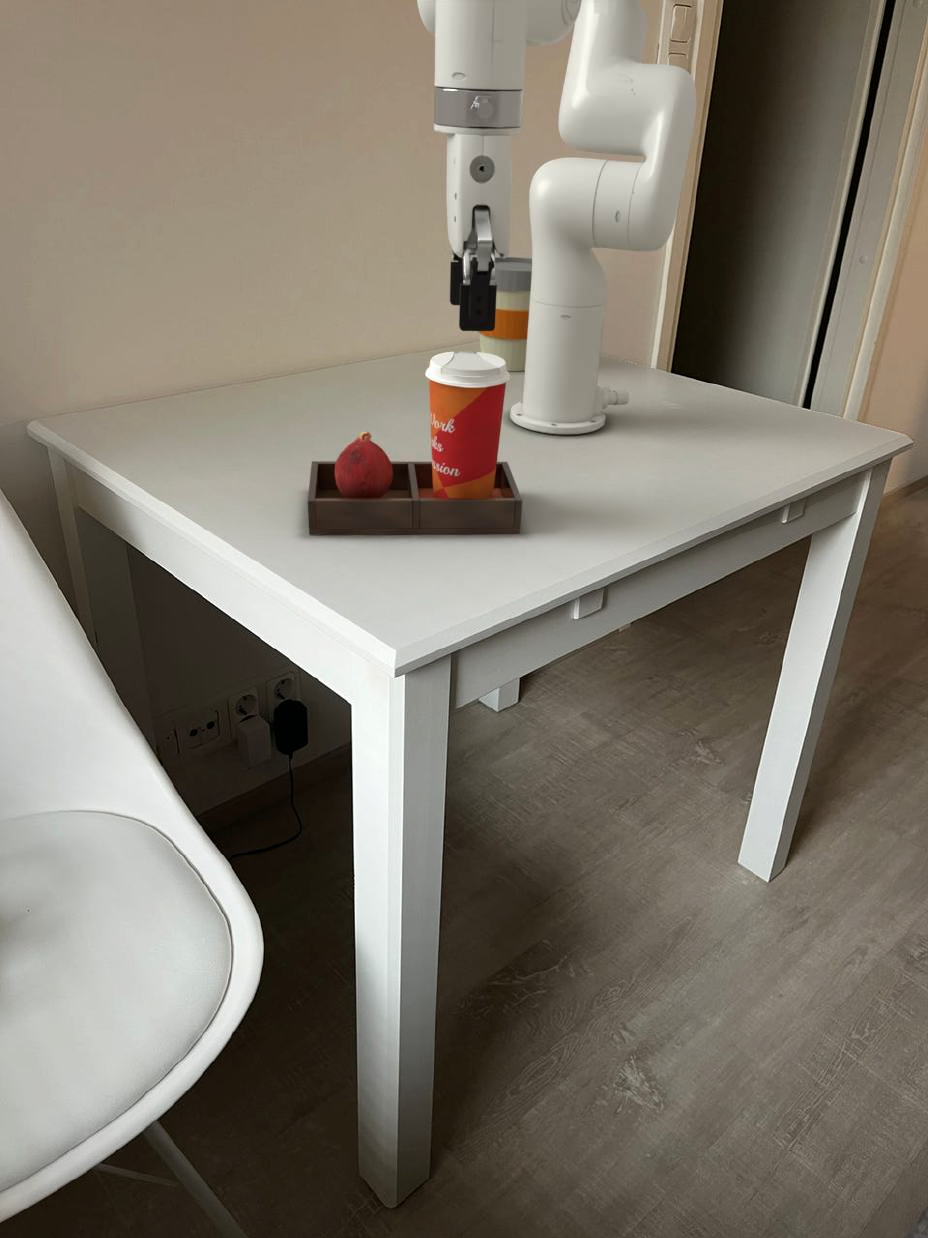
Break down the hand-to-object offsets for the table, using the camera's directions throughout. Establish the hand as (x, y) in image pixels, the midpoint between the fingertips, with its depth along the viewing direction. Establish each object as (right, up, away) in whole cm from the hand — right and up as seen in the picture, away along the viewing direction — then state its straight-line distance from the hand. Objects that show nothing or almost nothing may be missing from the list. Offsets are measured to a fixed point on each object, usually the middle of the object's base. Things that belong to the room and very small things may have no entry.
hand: (471, 316), depth 91 cm
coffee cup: (-1, -17, +9) cm, 19 cm away
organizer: (-6, -18, +9) cm, 21 cm away
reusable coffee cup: (+7, +12, +62) cm, 63 cm away
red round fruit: (-11, -17, +8) cm, 22 cm away
